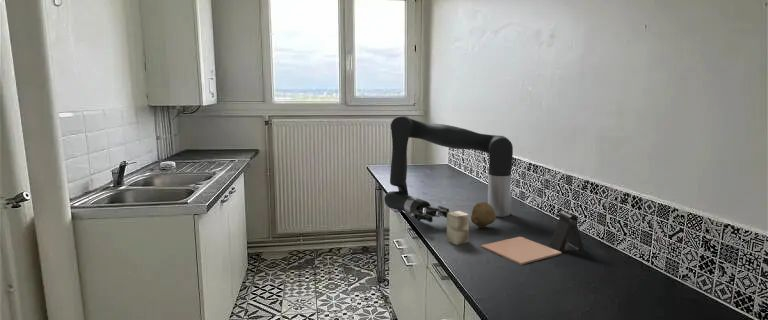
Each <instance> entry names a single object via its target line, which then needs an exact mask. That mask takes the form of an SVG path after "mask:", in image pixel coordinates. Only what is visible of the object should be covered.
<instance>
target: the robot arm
mask: <svg viewBox="0 0 768 320" xmlns="http://www.w3.org/2000/svg"><path fill="white" fill-rule="evenodd" d="M390 130H391V140H392V141H391V143H392V149H391V150H392V152H391V164H390V176H389V184H390V185H391V186H393V187H397V189H398V191H394V190H392V191H388V192H387V193H386V194H385V196H384V197H383V199H384V200H383V202H384V203H385V205H386V207H388V208H390V209H391V210H392V209H393V210H397V211H402V212H405V213H406V214H408V215H410V217H411V218H412V219H414V220H417V221H418V222H419V221H420V222H421V221H426V222H429V223H432V222H433V219H434V218H440V217H444V218H446V219H447V213H450V209H449V208H447V207H443V206H440V205H438V206H437V207H435V206H432V205H431V204H430V202H428V201H427V200H424V199H422V198H418V197H415V196H411V195H409V191H408V185H407V178H408V177H407V176H408V175H407V174H408V152H407V151H408V143H409V139H410V138H411V139H417V140H418V139H419V140H422V141H427V142H429V143H431V144H435V145H438V146H441V147H445V148H449V149H456V150H469V151H470V150H473V151H479V152H482V153H486V154H488V155H489V157H488V159H489V161H488V174H487V175H488V178H487V181H488V182H487V183H488V184H487V185H488V186H487V203H488V204H489V205H491V207H492V208H493V210H494V213H495V215H496V217H497V218H498V217H499V218H502V217H503V218H506V217H508V216H510V215H512V211H513V210H512V209H513V207H512V206H513V191H511V190H512V189H511V187H512V186H511V185H512V184H511V183H512V170H513V169H512V168H513V159H514V158H513V157H514V156H513V154H514V153H513V152H514V151H513V150H514V149H513V148H514V147H513V143H512V141H511V140H510V139H508V138H507V137H506V136H504V135H494V134H487V133H486V134H485V133H479V132H476V131H474V130H469V129H467V128H462V127H458V126H454V125H449V124H443V123H433V122H432V123H431V122H430V123H429V122H423V121H419V120H417V119H413V118H411V117H410V118H409V116H404V115H398V116H396V117H395V118H393V119H392V120H391V123H390Z"/></svg>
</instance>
